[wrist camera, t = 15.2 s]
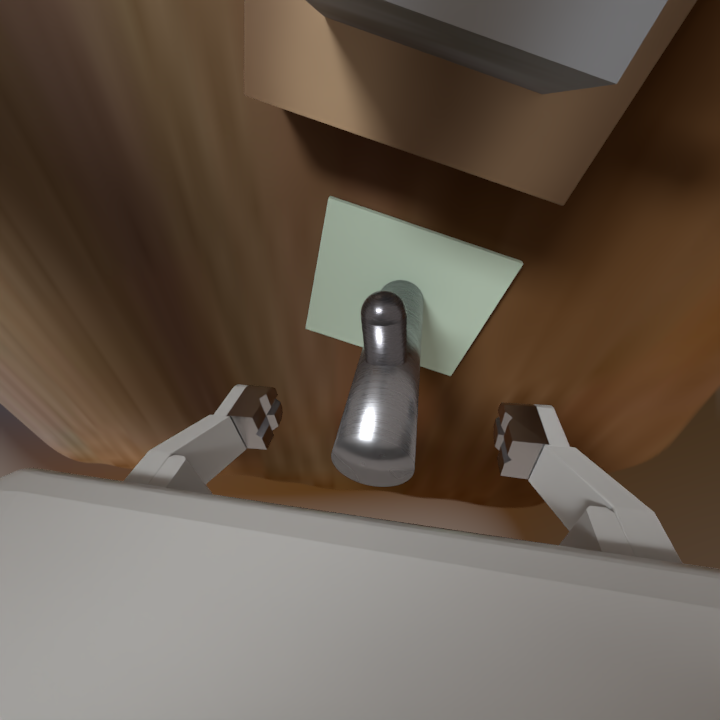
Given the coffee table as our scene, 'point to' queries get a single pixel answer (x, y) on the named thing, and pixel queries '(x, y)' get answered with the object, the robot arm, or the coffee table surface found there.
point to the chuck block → (464, 76)
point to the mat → (410, 263)
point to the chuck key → (384, 391)
